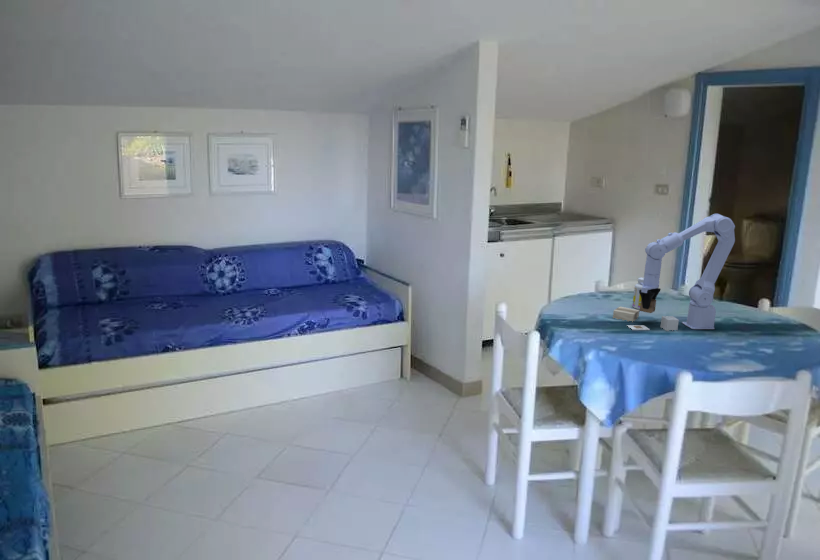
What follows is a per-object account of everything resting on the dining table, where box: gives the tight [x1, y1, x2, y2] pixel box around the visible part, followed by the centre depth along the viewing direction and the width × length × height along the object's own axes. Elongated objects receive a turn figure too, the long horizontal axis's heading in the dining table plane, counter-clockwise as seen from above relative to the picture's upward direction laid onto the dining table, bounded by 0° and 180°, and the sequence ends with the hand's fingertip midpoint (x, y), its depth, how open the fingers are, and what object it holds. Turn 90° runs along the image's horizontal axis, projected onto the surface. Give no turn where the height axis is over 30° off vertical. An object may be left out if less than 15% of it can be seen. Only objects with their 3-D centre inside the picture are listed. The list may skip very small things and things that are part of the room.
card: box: [626, 324, 650, 331], centre depth 253 cm, size 7×5×1 cm
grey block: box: [659, 315, 680, 332], centre depth 253 cm, size 4×4×4 cm
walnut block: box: [639, 299, 657, 314], centre depth 258 cm, size 4×4×4 cm
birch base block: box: [612, 306, 640, 323], centre depth 265 cm, size 8×8×4 cm
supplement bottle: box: [631, 277, 644, 310], centre depth 279 cm, size 7×7×13 cm
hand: (647, 307), depth 258 cm, fingers closed on walnut block, 4 cm apart
